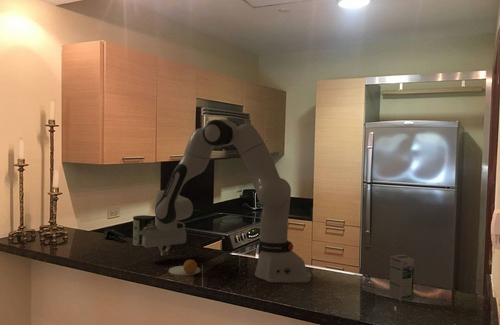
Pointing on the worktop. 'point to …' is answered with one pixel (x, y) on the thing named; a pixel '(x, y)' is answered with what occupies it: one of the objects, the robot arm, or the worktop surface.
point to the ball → (190, 266)
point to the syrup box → (401, 277)
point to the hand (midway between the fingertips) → (164, 255)
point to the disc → (181, 271)
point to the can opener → (114, 235)
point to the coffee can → (140, 227)
